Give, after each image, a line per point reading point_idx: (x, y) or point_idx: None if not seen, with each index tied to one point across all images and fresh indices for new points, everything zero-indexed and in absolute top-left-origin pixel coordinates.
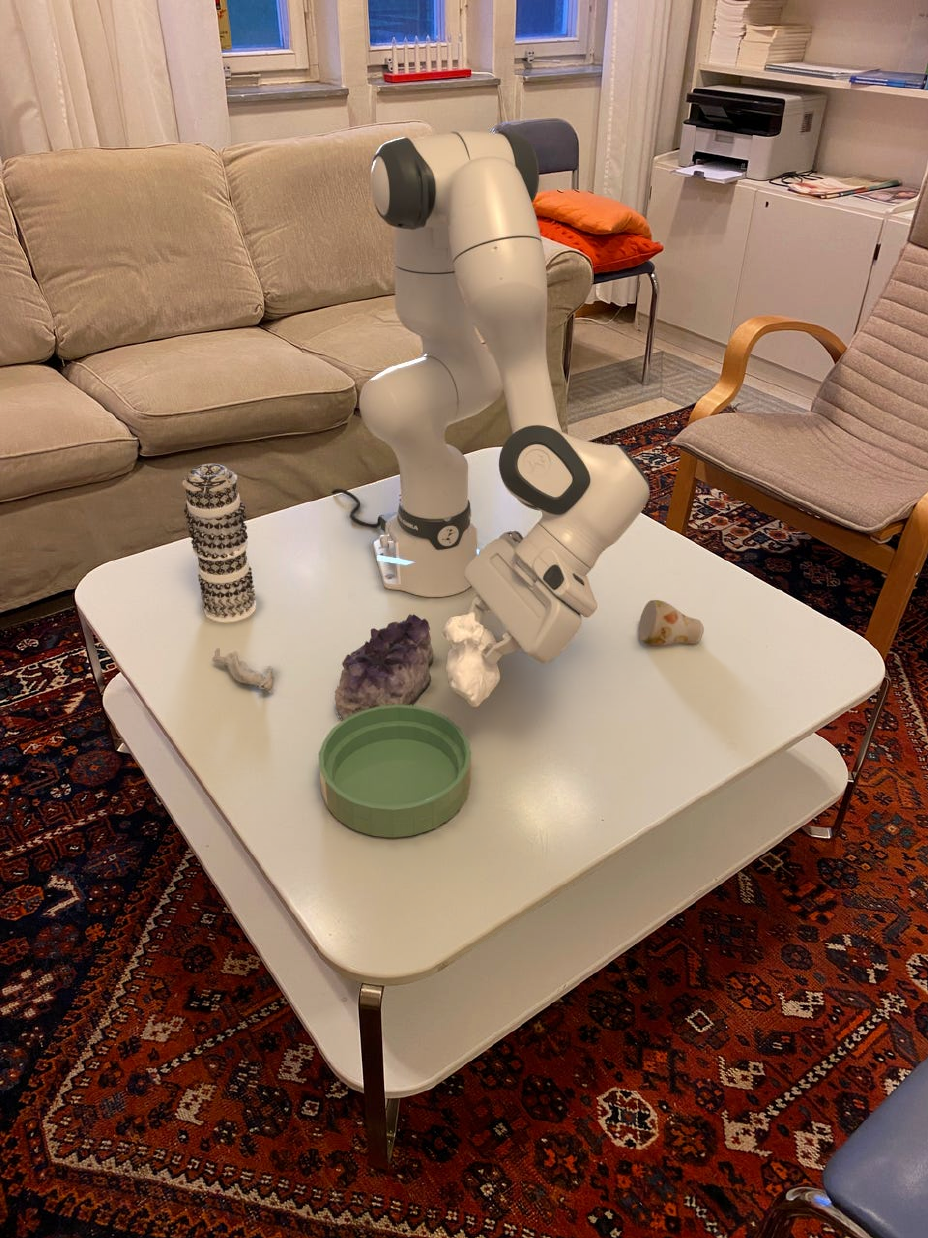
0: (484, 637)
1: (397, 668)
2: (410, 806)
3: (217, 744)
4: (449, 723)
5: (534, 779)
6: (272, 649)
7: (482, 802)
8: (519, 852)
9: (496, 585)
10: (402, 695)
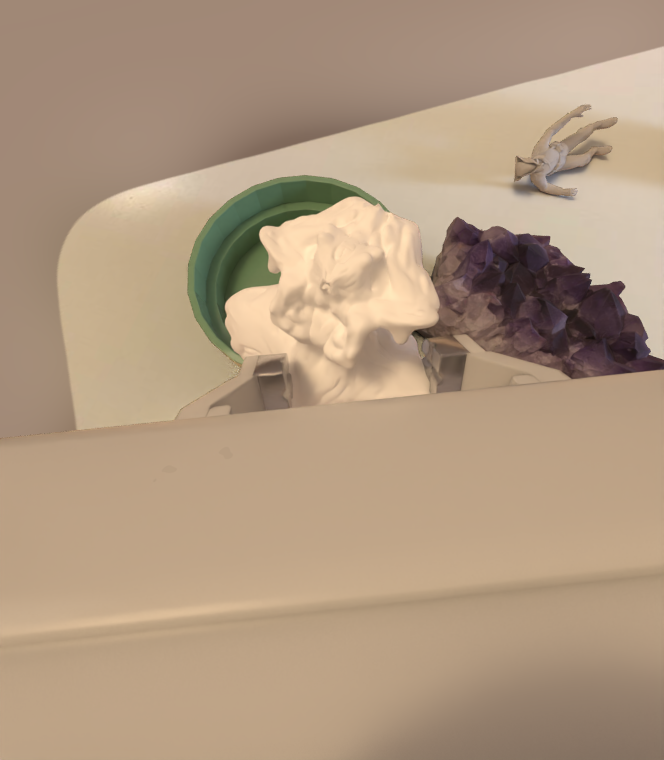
0: None
1: (488, 300)
2: (190, 262)
3: (435, 133)
4: None
5: None
6: (621, 206)
7: None
8: (140, 409)
9: (589, 469)
10: None
